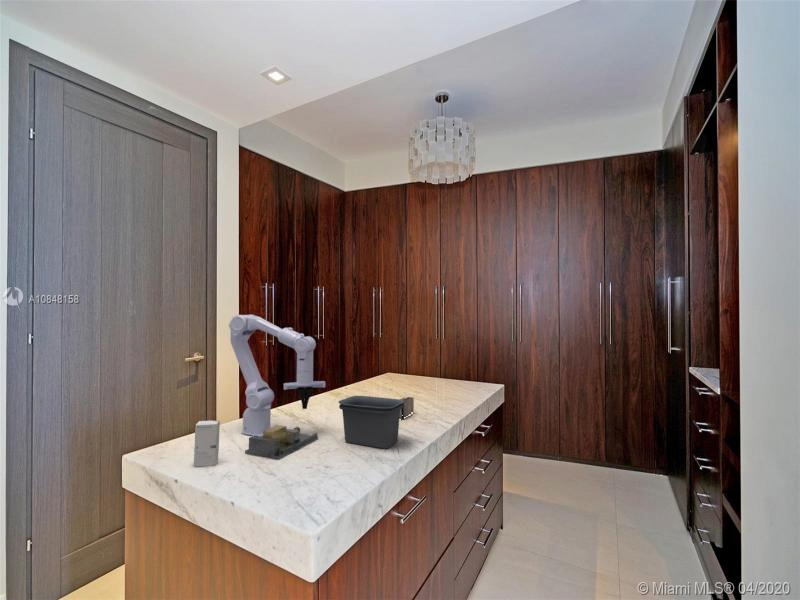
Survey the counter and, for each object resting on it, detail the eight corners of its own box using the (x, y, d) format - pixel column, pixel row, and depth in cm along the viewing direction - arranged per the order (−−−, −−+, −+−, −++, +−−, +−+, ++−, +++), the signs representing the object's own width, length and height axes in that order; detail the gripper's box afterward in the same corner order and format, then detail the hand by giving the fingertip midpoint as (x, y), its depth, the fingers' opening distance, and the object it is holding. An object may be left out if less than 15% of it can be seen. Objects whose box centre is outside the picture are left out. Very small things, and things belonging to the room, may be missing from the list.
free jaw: (270, 441, 135) (270, 429, 135) (286, 433, 143) (286, 422, 143) (294, 445, 131) (294, 432, 131) (309, 437, 139) (309, 425, 139)
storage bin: (333, 444, 136) (334, 401, 137) (357, 431, 150) (357, 393, 151) (389, 454, 127) (390, 408, 128) (409, 439, 142) (409, 398, 142)
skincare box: (193, 467, 116) (193, 425, 116) (197, 461, 120) (198, 420, 120) (216, 465, 117) (216, 423, 117) (219, 459, 122) (220, 419, 122)
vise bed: (244, 453, 127) (245, 437, 127) (287, 434, 146) (287, 420, 146) (278, 460, 122) (278, 442, 122) (317, 439, 141) (318, 424, 141)
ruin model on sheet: (402, 421, 165) (402, 398, 165) (395, 420, 166) (396, 397, 166) (414, 415, 175) (414, 392, 175) (408, 414, 176) (408, 392, 176)
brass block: (262, 449, 127) (263, 430, 127) (277, 443, 134) (277, 424, 134) (271, 451, 126) (271, 432, 126) (286, 444, 132) (286, 426, 133)
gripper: (323, 367, 151) (323, 404, 151) (283, 369, 146) (283, 407, 146) (326, 370, 144) (326, 408, 144) (284, 372, 140) (284, 411, 139)
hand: (304, 408), depth 145 cm, fingers closed
